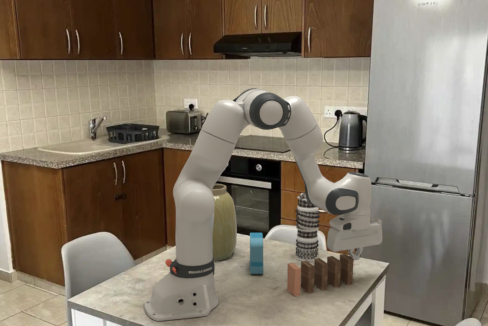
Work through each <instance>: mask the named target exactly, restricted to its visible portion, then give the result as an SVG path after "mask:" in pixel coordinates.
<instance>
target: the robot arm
mask: <svg viewBox="0 0 488 326" xmlns="http://www.w3.org/2000/svg"><path fill="white" fill-rule="evenodd" d="M249 126H252V127H254V128H257V129H259V130H263V131H270V130H275V129H277V128H278V129H279V130H280V132H281V134H282V136H283V138H284V140H285V142H286V145H287V146H288V149H289V150H290V152H291V154H292V155H293V159H294V161H295V164H296V166H297V169H298V171H299V174H300V175H301V178H302V180H303V184H304V192H305V195H306V199H307V201H308V202H309V203H310V204H311V205H313V206H315V207H318V208H319V209H320V210H322V211H324V212H326V213H328V214H329V215H332V216H335V217H334V218H331V219H330V220H329V226H330V228H329V229H328V232H327V238H326V239H327V240H326V246H327V248H328V249H329V250H330V251H332V252H334V253H336V252H342V251H347V253H348V254H349V255H348V256H350V257H351V258H353V259H354V261H358V260H360V257H361V254H362V252H363V250H364V248H366V247H372V246H377V245H378V246H379V245H382V242H383V228H382V225H383V223H382V221H383V220H381V218H379V217H373V218H371V211H372V210H371V208H370V207H371V202H372V194H373V193H372V192H373V191H372V190H373V189H372V180H371V178H370V177H369V176H368V175H366V174H365V173H360V172H357V171H356V172H355V171H349V172H347V173H346V174H345V176H343V177H342V178H341V179H340V180H337V181H336V182H332V181H330V180H328V179H327V178H326V177H325V176H323V174H322V173H321V170H320V167H319V164H318V162H317V160H316V158H315V155H316V154H317V153H318V152H319V151H320V150H321V149H322V146H323V144H324V138H323V133H322V131H321V128H320V126H319V123H318V121H317V119H316V117H315V115H314V113H313V112H312V110H311V109H310V107H309V105H308V104H307V103H306V101H304V99H303V98H301V97H300V96H298V95H289V96H286V97H284V98H282V97H281V96H279V95H278V94H277V93H273V92H270V91H269V90H267V89H264V88H263V89H262V88H252V87H251V88H247V89H246V90H244V91H242V92H241V93H240V94H239V95H238V96H236V97H235V98H234V99H233V100H232V99H220V100H218V101H216V103H215V104H214V105H213V107H212V108H211V110H210V111H209V113H208V115H207V117H206V119H205V120H204V123H203V124H202V126H201V129H200V131H199V133H198V136H197V138H196V141H195V143H194V146H193V148H192V150H191V152H190V155H189V157H188V158H187V160H186V162H185V163H184V166H183V167H182V169H181V171H180V173H179V175H178V177H177V179H176V181H175V183H174V186H173V189H172V195H173V199H174V200H173V201H174V204H175V205H174V206H175V236H174V238H175V259H174V260H173V261H172V259H170V258H167V259H166V260H165V265H166V267H168V268H169V272H168V273H167V274H165V275H164V276H163V277H162V278H161V279H160V280H158V281H157V282H156V283H155V284H154V285H153V286H152V291H151V296H150V297H147V298H146V299H145V301H144V305H143V307H144V311H145V313H146V315H147V316H148V317H149V318H150V319H152V320H153V321H157V322H160V321H161V322H162V321H170V320H171V321H172V320H179V319H190V318H198V317H206V316H209V314H210V312H211V311H212V310H213V309H215V308H216V307H217V306H218V305H219V296H218V293H217V290H216V289H217V288H216V286H215V285H216V284H215V269H216V267H215V266H216V264H215V263H216V262H215V261H214V257H213V241H212V233H213V223H214V206H215V199H214V195H213V193H212V189H213V187H214V185H215V184H217V182H218V179H219V178H220V176H221V175H222V173H223V172H224V171H225V170H226V168H227V166H228V164H229V161H230V160H231V157H232V155H233V153H234V150H235V148H236V145H237V143H238V140H239V137H240V135H241V134H242V133H243V130H245V129H246V128H247V127H249ZM355 249H356V250H355ZM354 252H355V253H354Z"/></svg>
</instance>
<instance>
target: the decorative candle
mask: <svg viewBox="0 0 488 326" xmlns="http://www.w3.org/2000/svg"><path fill="white" fill-rule="evenodd" d="M296 198H297V207H296V209H295V213H296V215H295V222H296V224H295V226H296V229H297V233H296V239H295V242H296V243H295V246H296V247H295V259H296V260H298V261H308V262H309V263H311V262H314V259H317V258H319V257H318V256H319V235H318V230H319V229H320V228H319V227H320V220H319V218H320V217H321V216H320V214H321V211H320V210H319V209H320V208H318V207H315V206H313V205H311V204H310V203H309V202H308V201H307V199H306V195H305V191H303V192H301V193H300V194H299V195H298V196H297V197H296Z"/></svg>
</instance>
